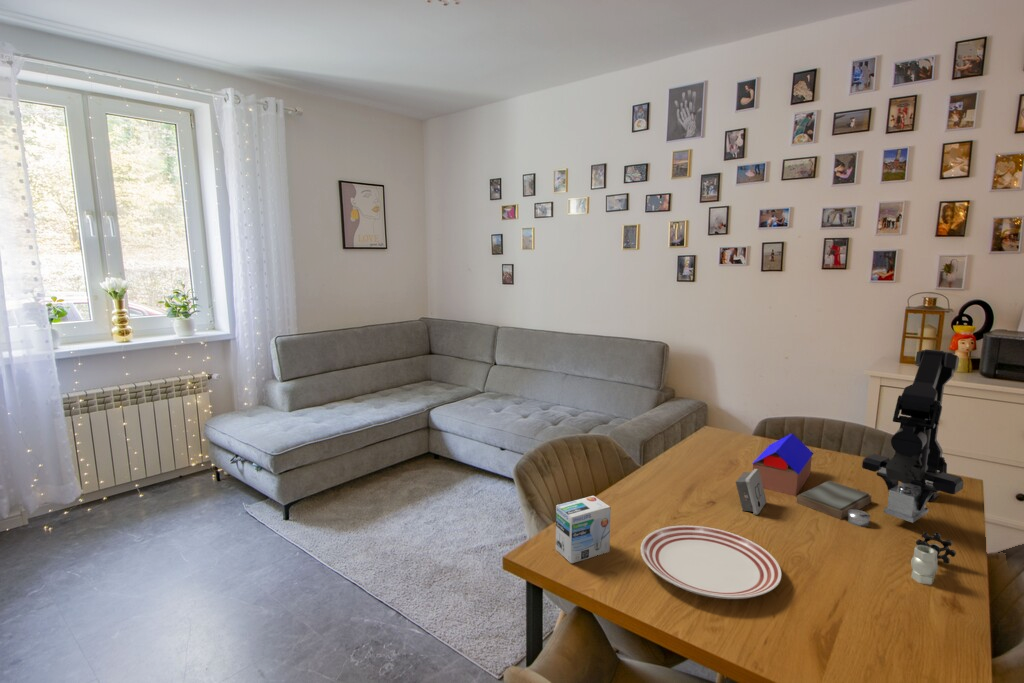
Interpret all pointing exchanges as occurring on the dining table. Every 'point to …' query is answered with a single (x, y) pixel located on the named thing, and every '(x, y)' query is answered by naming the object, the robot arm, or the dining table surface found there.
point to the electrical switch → (751, 491)
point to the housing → (905, 502)
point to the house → (784, 465)
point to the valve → (929, 558)
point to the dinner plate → (710, 562)
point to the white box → (582, 528)
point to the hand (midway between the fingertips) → (906, 506)
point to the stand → (834, 499)
